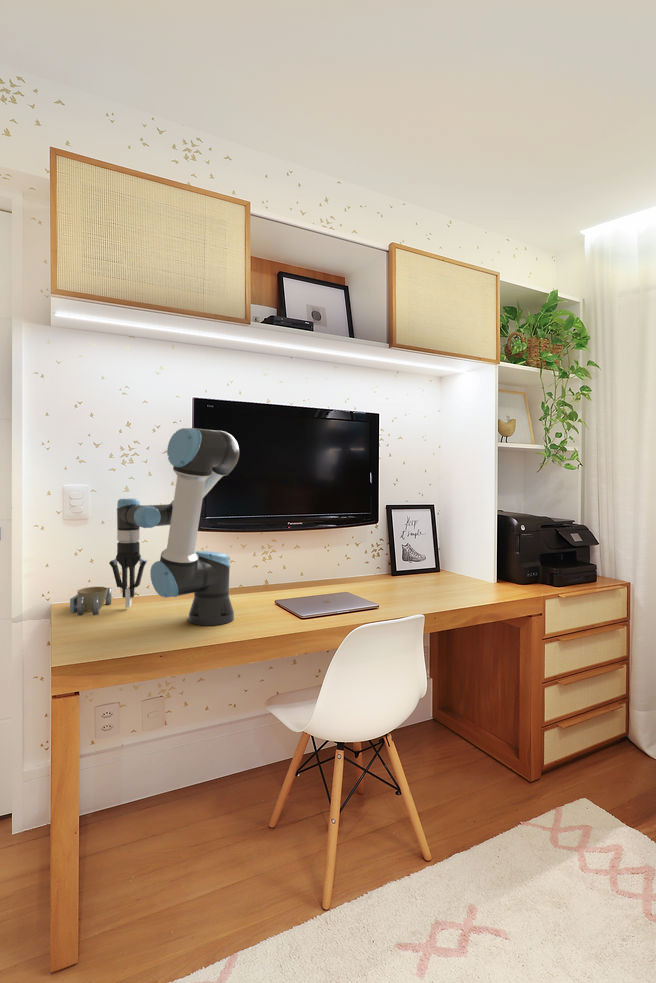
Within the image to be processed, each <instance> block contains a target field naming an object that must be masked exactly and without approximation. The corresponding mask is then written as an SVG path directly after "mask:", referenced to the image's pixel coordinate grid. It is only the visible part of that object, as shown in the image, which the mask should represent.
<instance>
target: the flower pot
mask: <svg viewBox="0 0 656 983" xmlns="http://www.w3.org/2000/svg"><path fill="white" fill-rule="evenodd" d="M108 588H109V587H106V586H90V587H89V586H88V587H83V588H79V589H78V590H76V592H77V594H78V597H84V611H87V612H92V597H99V610H101V608H102V607H103V605H104V603H105V599H106V596H107V592H108Z"/></svg>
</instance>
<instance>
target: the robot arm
mask: <svg viewBox="0 0 656 983" xmlns="http://www.w3.org/2000/svg"><path fill="white" fill-rule="evenodd" d="M239 447H240V446H239V444H238V441H237V440H236V439H235V437H234V436H233V435H232V434H230V433H228V432H227V431H223V430H215V429H214V430H213V429H203V428H195V427H189V428H188V427H185V428H184V427H183V428H179V429H178V430H176V431H175V432H174V433H173V434H172V435H171V437H170V439H169V441H168V444H167V450H166V453H167V454H166V455H167V456H168V457H167V459H168V462H169V463H170V465H172V467H173V468H172V471H173V472H174V473H175V475H176V482H175V489H174V496H173V497H174V498H173V500H172V501H171V502H170V503H168V504H153V505H152V504H150V505H149V504H148V505H146V504H145V505H142V504H141V503H140V500H139V499H138V498H119V499H118V500H117V508H116V526H117V527H116V529H117V530H116V532H117V533H116V541H118V542H117V543H116V547H117V548H116V549H117V550H116V556H115V558H114V559H112V560H110V561H109V562H108V563H109V565H110V567H111V569H112V571H113V576H114V579H115V584H116V587H117V588H120V589H122V590H121V591H122V594H121V595H122V598H124V600H125V603H124V605H125V608H131V606H132V598H134V597H135V589H136V588H138V587H139V586H140V585H141V582H142V577H143V573H144V570H145V566H146V565H147V563H148V559H144V558H142V555H141V554H140V549H141V548H140V528H143V529H152V528H155V527H164V526H169V531H168V537H167V538H168V539H167V544H166V545H167V546H166V548H165V549H163V550H162V551H161V553H160V558H159V560H158V561H157V560H156V561H154V562H153V564H151V567H150V580H151V584H152V586H153V589H154V590H155V592H156V593H157V594H158V596H160V597H162V598H173V597H174V598H177V597H179V596H184V595H189V594H193V595H194V597H193V600H192V603H191V606H190V609H189V612H188V622H189V623H191V624H192V625H198V626H219V625H224V624H228V623H231V622H232V621H234V619H235V611H234V608H233V605H232V602H231V598H230V568H231V565H230V557H229V555H228V554H227V553H224V552H217V551H207V550H197V551H196V545H197V543H196V542H197V538H198V532H199V525H200V518H201V513H202V512H201V511H202V505H203V499H204V498H205V497H206V496H207V495H208V493H209V492H210V491H211V490H212V489H213V488H214V486H215V485H216V484H217V483H218V481H220V480H221V479H222V478H223V477H224V476H225V477H226V476H229V474H230V473H231V472H232V471H233V470H234V468H235V467H236V465H237V464H238V461H239V458H240V448H239ZM138 563H139V564H138ZM118 564H119V565H120V566H121V574H120V570H119V566H118ZM137 564H138V565H139V567H138V570H137V571H138V572H137V574H136V565H137ZM128 570H129V585H128ZM135 574H136V575H137V576H135Z"/></svg>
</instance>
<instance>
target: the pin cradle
mask: <svg viewBox="0 0 656 983" xmlns="http://www.w3.org/2000/svg"><path fill="white" fill-rule="evenodd" d="M107 588H108V592H107V596H106V599H105V601H104V603H105V605H107V606H110V605H112V587H107ZM69 606H70V607H69V613H70V614H75V613H76V612H77V613H76V614H77V616H83V615H84V614H85V613H84V611H85V609H84V597H78V593H76V595H74V596H72V597H71V598H69ZM91 612H92V616H99V615H100V614H99V612H100V609H99V597H92V611H91Z"/></svg>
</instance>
